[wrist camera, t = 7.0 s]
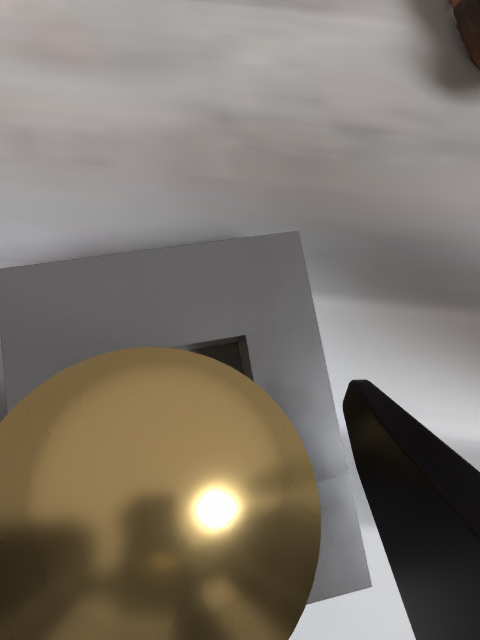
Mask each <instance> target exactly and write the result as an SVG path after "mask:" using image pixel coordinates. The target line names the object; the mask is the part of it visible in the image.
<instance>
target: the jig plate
mask: <svg viewBox="0 0 480 640" xmlns="http://www.w3.org/2000/svg"><path fill="white" fill-rule="evenodd" d="M0 328H1V340H2V352H3V364H4V376H5V388H6V400H7V412H8V413H9V412H10V411H11V410H12V409H13V408H14V407H15V406H16V404H17V403H19V402H20V401H21V400H22V399H23V398H24V397H26V396H27V395H28V394H29V393H30V392H31V391H32V390H34V389H35V388H36V387H37V386H39V385H40V384H42V383H43V382H45V381H46V380H48V379H49V378H51V377H52V376H54V375H55V374H57V373H59V372H61V371H63V370H65V369H67V368H68V367H70V366H72V365H74V364H76V363H78V362H81V361H84V360H87V359H89V358H92V357H95V356H98V355H100V354H105V353H109V352H113V351H118V350H122V349H131V348H141V347H162V348H173V349H179V350H186V351H187V350H193V349H199V348H205V347H211V346H217V345H223V344H229V343H235V342H238V345H239V350H240V356H241V362H242V368H243V373H244V375H245V376H247V377H248V378H250V379H251V380H252V381H253V382H254V383H256V384H257V385H258V386H259V387H261V388H262V389H263V390H264V391H265V392H266V393H267V394H268V395H269V396H270V397H271V398H272V399H273V400H274V401H275V402H276V403H277V404H278V405H279V406H280V408H281V409H282V411H283V412H284V413H285V415H286V416H287V417H288V419H289V420H290V422H291V423H292V424H293V426H294V428H295V430H296V432H297V433H298V435H299V437H300V439H301V441H302V442H303V444H304V447H305V449H306V452H307V455H308V457H309V460H310V462H311V465H312V468H313V472H314V476H315V480H316V484H317V487H318V495H319V502H320V510H321V541H320V550H319V560H318V564H317V569H316V573H315V578H314V582H313V586H312V589H311V592H310V595H309V597H308V600H307V603H306V605H307V604H310V603H314V602H318V601H322V600H325V599H329V598H333V597H336V596H340V595H344V594H347V593H351V592H355V591H358V590H362V589H366V588H370V587H372V585H371V580H370V575H369V570H368V565H367V560H366V556H365V551H364V546H363V541H362V536H361V531H360V527H359V522H358V517H357V512H356V507H355V502H354V497H353V493H352V488H351V483H350V478H349V473H348V468H347V464H346V459H345V454H344V449H343V444H342V439H341V435H340V430H339V425H338V420H337V415H336V410H335V406H334V401H333V396H332V391H331V386H330V381H329V377H328V372H327V367H326V362H325V357H324V352H323V348H322V343H321V338H320V333H319V328H318V323H317V319H316V314H315V309H314V304H313V299H312V294H311V290H310V285H309V280H308V275H307V270H306V265H305V261H304V256H303V251H302V246H301V241H300V236H299V232H298V231H293V232H285V233H277V234H269V235H261V236H254V237H246V238H238V239H230V240H222V241H215V242H207V243H199V244H191V245H183V246H175V247H168V248H160V249H152V250H144V251H136V252H129V253H121V254H113V255H105V256H97V257H89V258H82V259H74V260H66V261H58V262H50V263H43V264H35V265H27V266H19V267H11V268H3V269H0Z"/></svg>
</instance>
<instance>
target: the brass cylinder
mask: <svg viewBox="0 0 480 640" xmlns="http://www.w3.org/2000/svg"><path fill="white" fill-rule="evenodd" d="M320 541H321V510H320V502H319V495H318V487H317V484H316V480H315V476H314V472H313V468H312V465H311V462H310V460H309V457H308V455H307V452H306V449H305V447H304V444H303V442H302V441H301V439H300V437H299V435H298V433H297V432H296V430H295V428H294V426H293V424H292V423H291V422H290V420H289V419H288V417H287V416H286V415H285V413H284V412H283V411H282V409H281V408H280V406H279V405H278V404H277V403H276V402H275V401H274V400H273V399H272V398H271V397H270V396H269V395H268V394H267V393H266V392H265V391H264V390H263V389H262V388H261V387H259V386H258V385H257V384H256V383H254V382H253V381H252V380H251V379H250V378H248V377H247V376H245V375H244V374H242V373H240V372H239V371H237V370H235V369H234V368H232V367H231V366H229V365H226V364H224V363H222V362H220V361H217V360H215V359H213V358H211V357H208V356H204V355H201V354H197V353H194V352H191V351H186V350H179V349H173V348H162V347H141V348H131V349H122V350H118V351H113V352H109V353H105V354H100V355H98V356H95V357H92V358H89V359H87V360H84V361H81V362H78V363H76V364H74V365H72V366H70V367H68V368H67V369H65V370H63V371H61V372H59V373H57V374H55V375H54V376H52V377H51V378H49V379H48V380H46V381H45V382H43V383H42V384H40V385H39V386H37V387H36V388H35V389H34V390H32V391H31V392H30V393H29V394H28V395H27V396H26V397H24V398H23V399H22V400H21V401H20V402H19V403H17V404H16V406H15V407H14V408H13V409H12V410H11V411H10V412H9V413H8V414H7V415H6V416H5V418H4V419H3V420H2V421H1V422H0V640H288V639H289V638H290V636H291V635H292V633H293V631H294V629H295V627H296V625H297V623H298V621H299V619H300V617H301V615H302V613H303V611H304V609H305V606H306V603H307V600H308V597H309V595H310V592H311V589H312V586H313V582H314V578H315V573H316V569H317V564H318V560H319V550H320Z"/></svg>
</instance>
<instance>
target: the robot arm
mask: <svg viewBox="0 0 480 640" xmlns="http://www.w3.org/2000/svg"><path fill="white" fill-rule="evenodd" d="M343 413H344V417H345V421H346V426H347V430H348V434H349V439H350V443H351V448H352V452H353V456H354V460H355V464H356V468H357V471H358V474H359V477H360V480H361V483H362V486H363V489H364V492H365V494H366V497H367V500H368V503H369V506H370V509H371V512H372V515H373V517H374V520H375V523H376V526H377V529H378V532H379V535H380V538H381V540H382V543H383V546H384V549H385V552H386V555H387V558H388V561H389V563H390V566H391V569H392V572H393V575H394V578H395V581H396V584H397V586H398V589H399V592H400V595H401V598H402V601H403V604H404V607H405V609H406V612H407V615H408V618H409V621H410V624H411V627H412V630H413V632H414V635H415V638H416V640H480V472H479V471H478V470H477V469H475V468H474V467H473V466H472V465H471V464H469V463H468V462H467V461H466V460H465V459H463V458H462V457H461V456H460V455H459V454H457V453H456V452H455V451H454V450H452V449H451V448H450V447H449V446H448V445H446V444H445V443H444V442H443V441H442V440H440V439H439V438H438V437H437V436H435V435H434V434H433V433H432V432H431V431H429V430H428V429H427V428H426V427H425V426H423V425H422V424H421V423H420V422H418V421H417V420H416V419H415V418H414V417H412V416H411V415H410V414H409V413H408V412H406V411H405V410H404V409H403V408H401V407H400V406H399V405H398V404H397V403H395V402H394V401H393V400H392V399H391V398H389V397H388V396H387V395H386V394H384V393H383V392H382V391H381V390H380V389H378V388H377V387H376V386H375V385H374V384H372V383H371V382H370V381H368V380H352V381H351V382H350V383H349V385H348V388H347V391H346V394H345V397H344V400H343Z"/></svg>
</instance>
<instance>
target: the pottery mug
mask: <svg viewBox="0 0 480 640" xmlns="http://www.w3.org/2000/svg"><path fill="white" fill-rule="evenodd" d="M451 4H452V8H453V10H454V11H453V12H454V16H455V18H456V21H457V29H458V31H459V32H460V35H461V38H462V41H463V42H464V45H465V47H466V49H467V50H468V52H469V54H470V56H471V58H472V59H473V61H474V62H475V64H476V65H477V67H478V68H480V0H451Z"/></svg>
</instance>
